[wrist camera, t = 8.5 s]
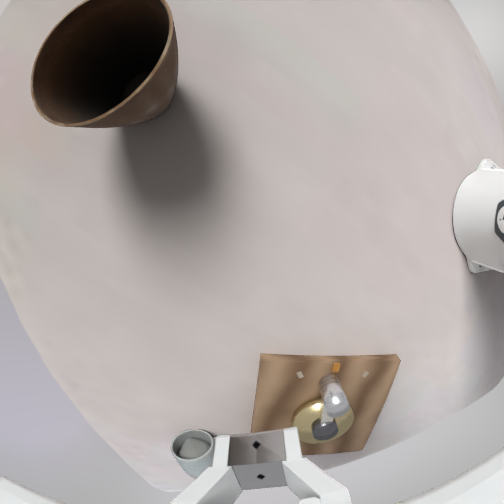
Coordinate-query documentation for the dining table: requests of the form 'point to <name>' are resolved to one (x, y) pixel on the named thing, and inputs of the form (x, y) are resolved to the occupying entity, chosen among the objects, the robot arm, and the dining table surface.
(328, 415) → the brass and silver crank
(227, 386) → the dining table surface
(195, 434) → the ceramic mug
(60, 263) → the dining table surface
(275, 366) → the brown flat wooden board
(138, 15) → the plant pot
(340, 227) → the dining table surface
